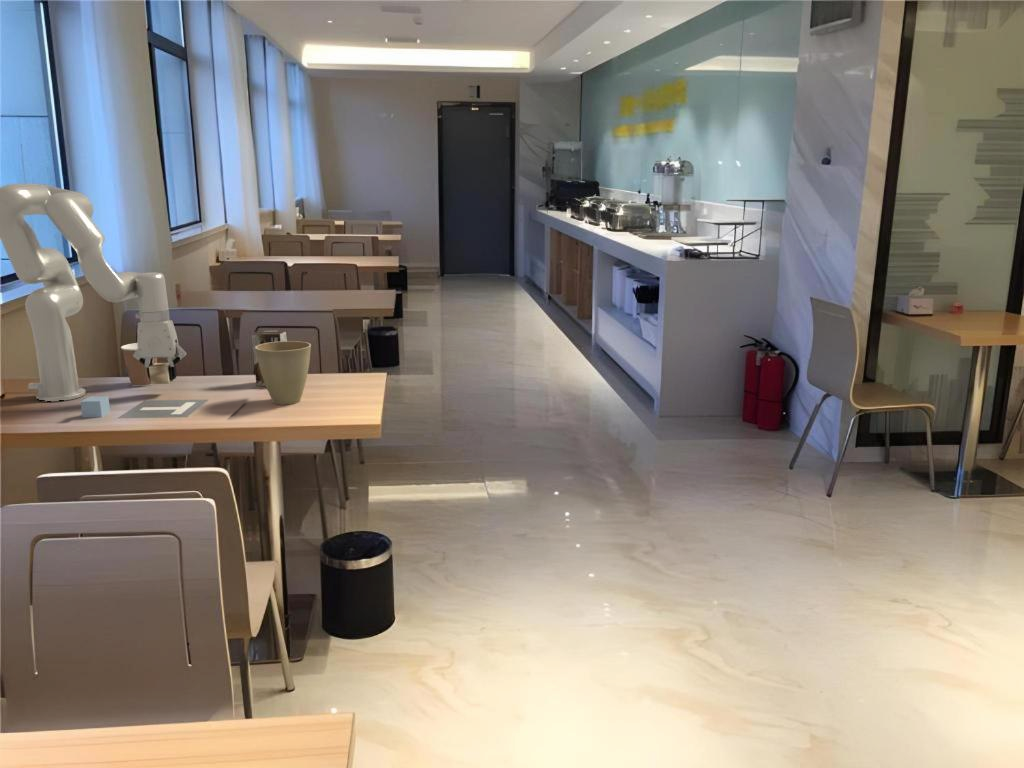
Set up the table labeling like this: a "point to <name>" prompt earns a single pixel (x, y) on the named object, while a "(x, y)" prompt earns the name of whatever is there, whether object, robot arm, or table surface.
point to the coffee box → (262, 338)
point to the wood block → (159, 373)
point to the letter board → (164, 409)
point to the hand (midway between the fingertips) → (162, 379)
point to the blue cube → (95, 406)
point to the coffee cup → (135, 366)
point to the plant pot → (284, 369)
